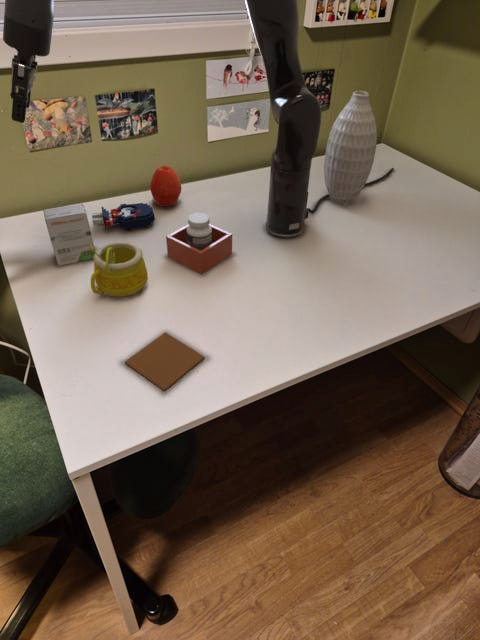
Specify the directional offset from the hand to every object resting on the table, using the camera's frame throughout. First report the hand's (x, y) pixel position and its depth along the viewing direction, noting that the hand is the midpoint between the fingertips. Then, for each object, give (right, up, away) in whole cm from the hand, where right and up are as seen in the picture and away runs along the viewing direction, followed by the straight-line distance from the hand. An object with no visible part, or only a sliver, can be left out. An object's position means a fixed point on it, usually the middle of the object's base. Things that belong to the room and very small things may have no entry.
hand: (20, 113), depth 89 cm
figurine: (+12, -15, +30) cm, 36 cm away
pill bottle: (+32, -24, +20) cm, 45 cm away
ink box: (+4, -25, +18) cm, 31 cm away
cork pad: (+28, -47, -6) cm, 55 cm away
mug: (+16, -32, +10) cm, 38 cm away
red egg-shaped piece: (+22, -8, +39) cm, 45 cm away
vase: (+70, -5, +43) cm, 83 cm away
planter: (+32, -24, +20) cm, 45 cm away
